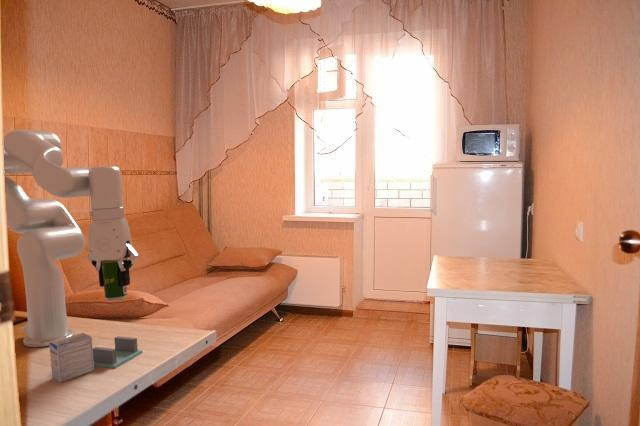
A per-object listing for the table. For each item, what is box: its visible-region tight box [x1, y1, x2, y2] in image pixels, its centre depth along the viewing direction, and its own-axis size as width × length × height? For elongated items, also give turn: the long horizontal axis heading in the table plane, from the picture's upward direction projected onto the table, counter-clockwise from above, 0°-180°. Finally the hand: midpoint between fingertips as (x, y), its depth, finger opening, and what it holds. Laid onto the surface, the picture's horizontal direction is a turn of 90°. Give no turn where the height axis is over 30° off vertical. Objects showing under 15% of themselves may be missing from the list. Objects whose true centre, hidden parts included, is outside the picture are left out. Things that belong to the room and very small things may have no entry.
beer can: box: [101, 260, 128, 302], centre depth 125 cm, size 5×5×12 cm
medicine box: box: [48, 332, 95, 384], centre depth 113 cm, size 8×4×9 cm, turn 141°
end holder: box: [92, 335, 143, 369], centre depth 123 cm, size 8×10×4 cm
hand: (114, 284), depth 125 cm, fingers closed on beer can, 5 cm apart
